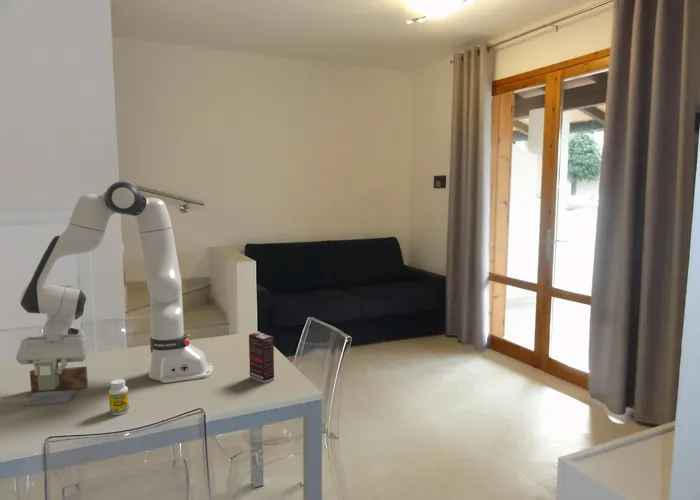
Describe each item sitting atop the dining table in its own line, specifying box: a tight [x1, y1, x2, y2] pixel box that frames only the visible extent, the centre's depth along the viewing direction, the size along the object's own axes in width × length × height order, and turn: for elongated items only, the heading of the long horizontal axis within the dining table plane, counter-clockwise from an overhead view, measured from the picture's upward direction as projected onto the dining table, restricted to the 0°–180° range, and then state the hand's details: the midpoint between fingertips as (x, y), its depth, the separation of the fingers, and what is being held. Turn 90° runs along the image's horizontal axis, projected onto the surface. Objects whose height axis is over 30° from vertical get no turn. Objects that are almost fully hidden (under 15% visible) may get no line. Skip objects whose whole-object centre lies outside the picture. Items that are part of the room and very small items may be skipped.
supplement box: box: [248, 331, 275, 384], centre depth 181 cm, size 9×5×16 cm, turn 47°
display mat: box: [23, 389, 77, 407], centre depth 165 cm, size 12×9×1 cm
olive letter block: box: [37, 358, 59, 390], centre depth 164 cm, size 4×5×9 cm
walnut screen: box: [29, 366, 89, 393], centre depth 172 cm, size 17×2×7 cm, turn 101°
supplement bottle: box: [108, 378, 130, 416], centre depth 155 cm, size 5×5×10 cm
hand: (47, 374), depth 163 cm, fingers closed on olive letter block, 4 cm apart
